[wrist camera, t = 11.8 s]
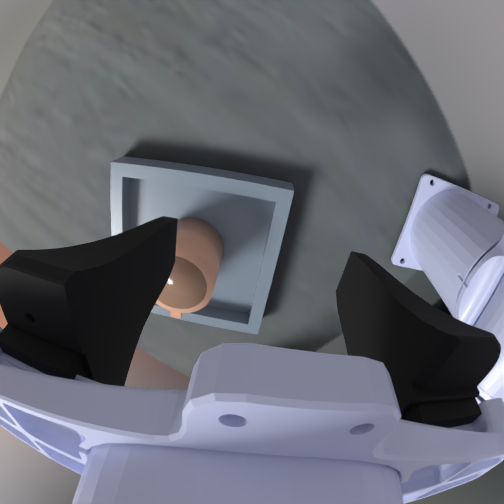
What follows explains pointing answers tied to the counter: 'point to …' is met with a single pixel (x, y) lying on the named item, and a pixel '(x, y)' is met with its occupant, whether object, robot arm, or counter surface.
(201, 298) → the terracotta cup
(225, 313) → the tray
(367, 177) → the counter surface
